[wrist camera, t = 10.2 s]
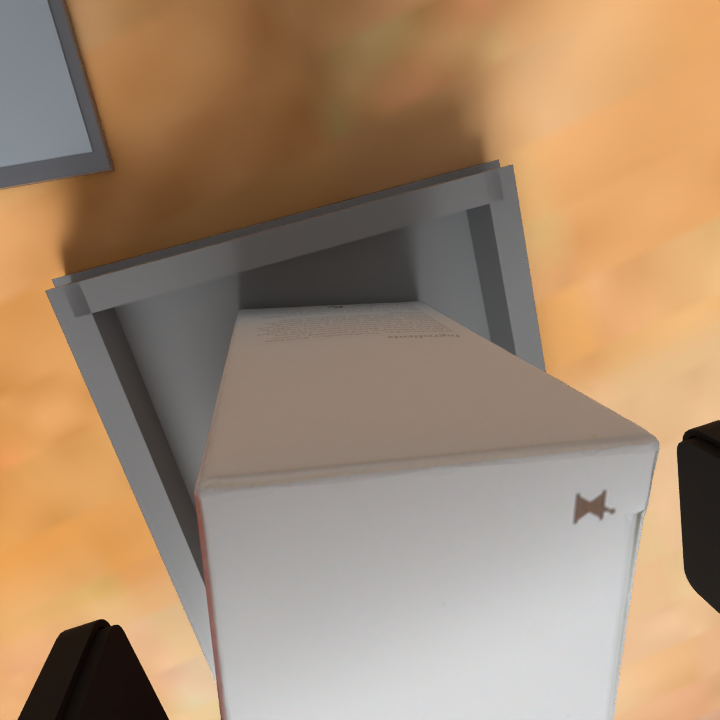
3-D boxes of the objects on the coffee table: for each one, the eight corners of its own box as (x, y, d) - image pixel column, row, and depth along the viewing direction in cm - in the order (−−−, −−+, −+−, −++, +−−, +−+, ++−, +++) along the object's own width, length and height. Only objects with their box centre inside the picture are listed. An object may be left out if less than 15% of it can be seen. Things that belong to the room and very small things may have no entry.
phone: (-100, -103, 13) (-128, -128, 12) (35, -118, 13) (17, -143, 12) (4, 191, 15) (-14, 190, 14) (119, 172, 15) (109, 169, 14)
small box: (236, 305, 15) (180, 470, 5) (424, 297, 16) (677, 426, 6) (255, 547, 17) (239, 992, 7) (420, 528, 18) (605, 904, 8)
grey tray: (64, 275, 15) (8, 291, 12) (485, 162, 16) (542, 148, 13) (255, 727, 21) (253, 827, 17) (563, 616, 22) (618, 690, 18)
